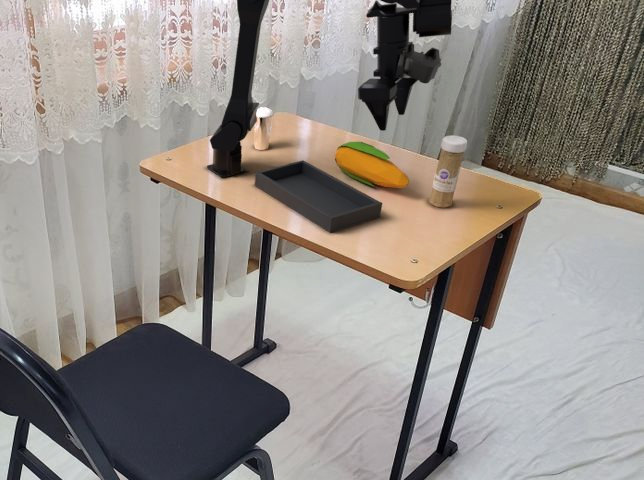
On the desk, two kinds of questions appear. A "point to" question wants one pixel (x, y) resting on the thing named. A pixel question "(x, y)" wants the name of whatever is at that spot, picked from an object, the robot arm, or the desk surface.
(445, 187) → the sprinkles bottle
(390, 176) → the corn
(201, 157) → the desk surface
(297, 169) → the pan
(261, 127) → the milkshake
